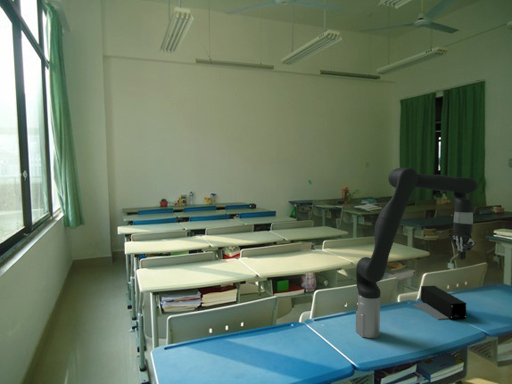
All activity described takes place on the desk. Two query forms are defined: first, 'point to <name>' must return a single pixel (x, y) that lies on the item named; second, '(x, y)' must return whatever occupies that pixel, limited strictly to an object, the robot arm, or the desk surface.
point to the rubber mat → (432, 311)
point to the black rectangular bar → (443, 302)
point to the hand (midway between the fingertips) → (461, 259)
